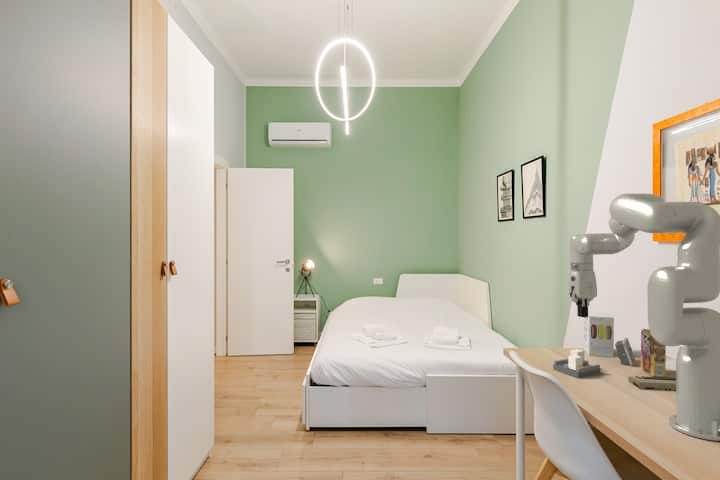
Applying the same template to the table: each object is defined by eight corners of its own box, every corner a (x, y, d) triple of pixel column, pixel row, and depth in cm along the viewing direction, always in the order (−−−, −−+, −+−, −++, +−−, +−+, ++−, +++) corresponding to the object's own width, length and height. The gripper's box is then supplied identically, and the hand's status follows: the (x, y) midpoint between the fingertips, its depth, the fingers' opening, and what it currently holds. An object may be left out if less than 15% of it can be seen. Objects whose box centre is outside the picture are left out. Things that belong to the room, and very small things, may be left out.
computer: (678, 384, 138) (678, 374, 138) (693, 393, 130) (693, 383, 130) (627, 382, 141) (627, 372, 141) (639, 390, 133) (639, 380, 133)
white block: (582, 369, 147) (582, 356, 147) (575, 370, 145) (575, 358, 145) (575, 366, 149) (575, 354, 149) (568, 368, 148) (568, 356, 148)
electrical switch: (633, 367, 156) (630, 342, 156) (617, 365, 159) (614, 341, 159) (635, 361, 163) (632, 337, 163) (620, 360, 166) (617, 337, 167)
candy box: (666, 377, 144) (666, 334, 144) (653, 376, 145) (653, 334, 144) (653, 369, 153) (652, 328, 153) (640, 368, 153) (640, 328, 153)
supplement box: (588, 355, 170) (588, 315, 170) (583, 349, 179) (583, 311, 179) (614, 357, 168) (614, 316, 168) (608, 351, 177) (607, 312, 176)
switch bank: (600, 373, 149) (600, 364, 149) (577, 378, 144) (577, 368, 144) (575, 365, 158) (575, 356, 158) (553, 369, 154) (553, 360, 153)
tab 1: (584, 362, 154) (584, 351, 154) (577, 363, 153) (577, 352, 153) (577, 360, 157) (577, 349, 157) (570, 361, 156) (570, 350, 156)
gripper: (577, 268, 145) (578, 320, 145) (604, 267, 152) (605, 316, 151) (559, 267, 152) (560, 316, 152) (585, 266, 158) (586, 313, 158)
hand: (582, 316), depth 152 cm, fingers closed
